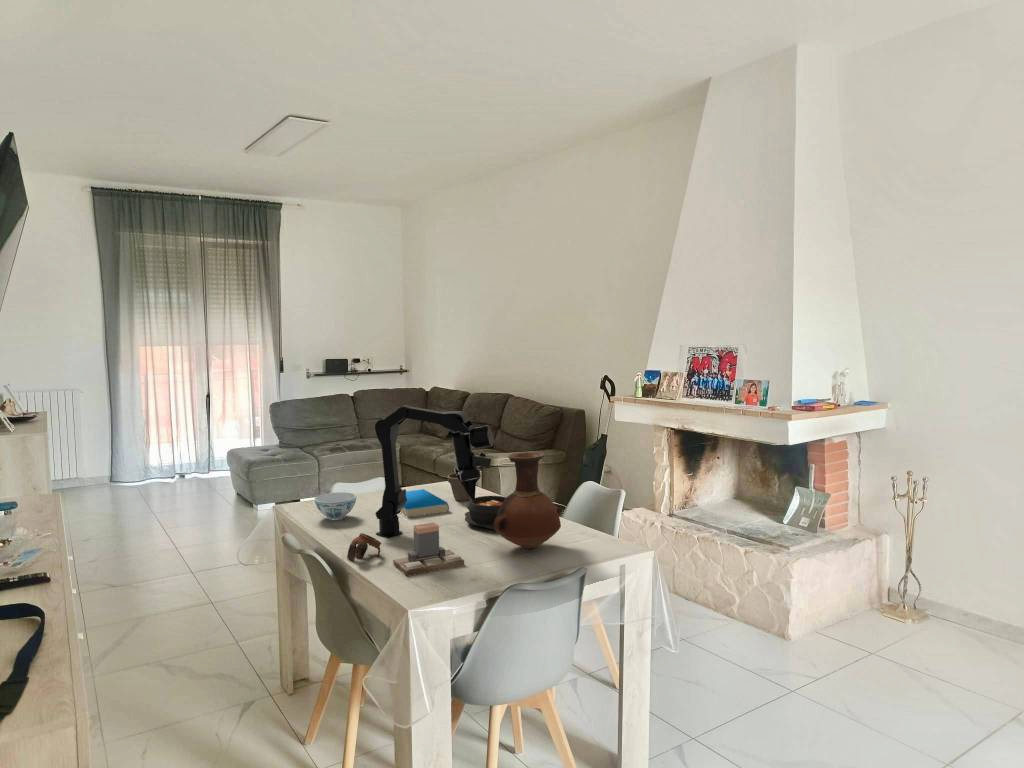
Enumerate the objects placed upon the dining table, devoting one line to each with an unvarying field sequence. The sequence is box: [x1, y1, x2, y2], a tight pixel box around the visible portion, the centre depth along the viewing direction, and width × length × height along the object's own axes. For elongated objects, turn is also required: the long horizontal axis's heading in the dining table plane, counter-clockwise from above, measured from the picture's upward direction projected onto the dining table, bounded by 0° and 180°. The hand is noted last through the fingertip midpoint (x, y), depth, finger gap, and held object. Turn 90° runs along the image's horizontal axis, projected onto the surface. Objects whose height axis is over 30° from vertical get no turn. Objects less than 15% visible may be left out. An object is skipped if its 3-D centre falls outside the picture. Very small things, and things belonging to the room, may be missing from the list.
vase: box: [493, 451, 562, 550], centre depth 220 cm, size 25×20×30 cm
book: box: [400, 489, 450, 518], centre depth 272 cm, size 17×4×25 cm
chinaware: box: [314, 491, 357, 520], centre depth 258 cm, size 15×15×8 cm
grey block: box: [413, 522, 440, 559], centre depth 207 cm, size 4×7×10 cm, turn 119°
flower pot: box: [447, 472, 471, 502], centre depth 282 cm, size 12×11×10 cm
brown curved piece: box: [346, 532, 382, 562], centre depth 213 cm, size 12×10×8 cm
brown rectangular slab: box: [392, 546, 465, 577], centre depth 207 cm, size 11×18×4 cm, turn 119°
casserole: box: [464, 495, 507, 530], centre depth 248 cm, size 25×19×8 cm
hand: (471, 496), depth 229 cm, fingers open, 9 cm apart
